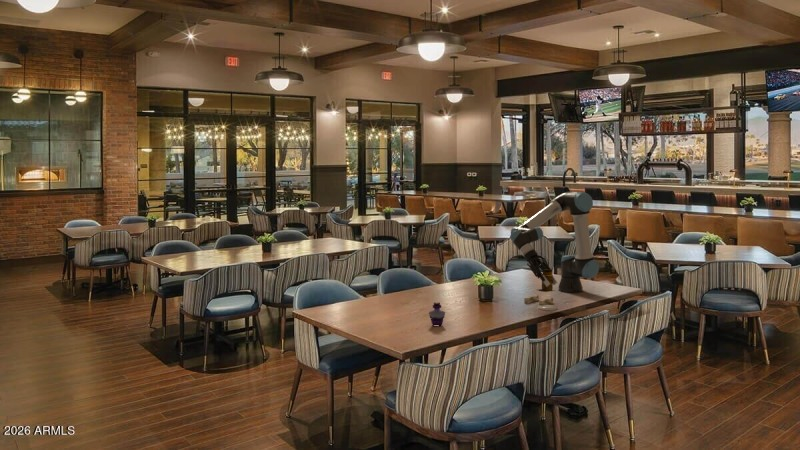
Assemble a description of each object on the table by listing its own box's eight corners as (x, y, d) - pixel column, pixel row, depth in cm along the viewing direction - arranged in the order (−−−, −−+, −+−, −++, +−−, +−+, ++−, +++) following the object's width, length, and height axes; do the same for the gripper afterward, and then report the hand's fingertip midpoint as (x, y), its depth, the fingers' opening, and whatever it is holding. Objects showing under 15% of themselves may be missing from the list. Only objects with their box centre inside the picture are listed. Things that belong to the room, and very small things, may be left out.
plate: (545, 305, 371) (545, 303, 370) (561, 308, 362) (561, 306, 362) (533, 308, 363) (533, 306, 363) (549, 311, 355) (549, 310, 355)
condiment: (555, 290, 360) (556, 269, 359) (545, 292, 356) (545, 271, 355) (546, 288, 366) (546, 268, 365) (535, 290, 362) (536, 269, 361)
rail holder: (536, 300, 385) (536, 295, 384) (553, 303, 376) (553, 298, 375) (524, 303, 377) (524, 298, 377) (540, 306, 368) (540, 301, 368)
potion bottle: (444, 322, 335) (444, 300, 334) (446, 327, 326) (446, 304, 325) (428, 323, 334) (427, 300, 333) (429, 327, 326) (429, 304, 325)
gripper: (535, 255, 378) (558, 286, 367) (514, 258, 365) (537, 290, 355) (542, 247, 373) (566, 278, 362) (522, 250, 361) (545, 282, 350)
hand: (552, 284), depth 359 cm, fingers closed on condiment, 6 cm apart
